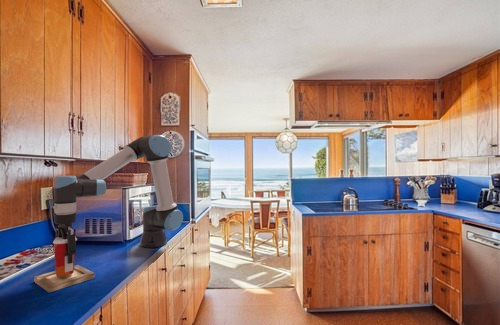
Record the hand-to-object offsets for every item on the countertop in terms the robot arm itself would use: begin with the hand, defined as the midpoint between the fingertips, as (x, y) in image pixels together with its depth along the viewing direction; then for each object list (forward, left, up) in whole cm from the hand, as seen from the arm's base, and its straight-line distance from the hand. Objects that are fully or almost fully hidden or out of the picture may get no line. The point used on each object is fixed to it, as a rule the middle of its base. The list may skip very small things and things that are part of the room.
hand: (65, 268), depth 111 cm
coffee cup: (0, 0, -2) cm, 2 cm away
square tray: (0, 0, -4) cm, 4 cm away
